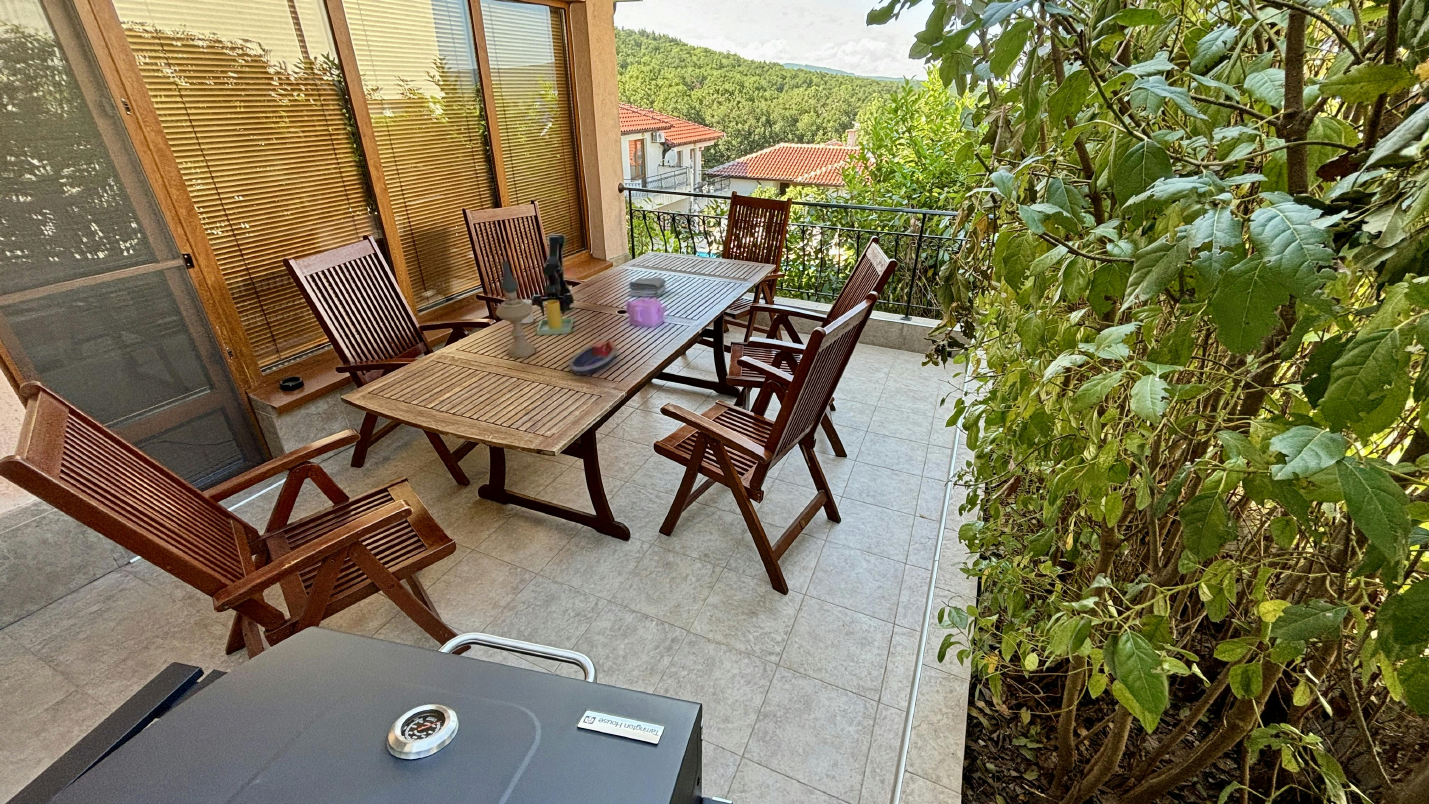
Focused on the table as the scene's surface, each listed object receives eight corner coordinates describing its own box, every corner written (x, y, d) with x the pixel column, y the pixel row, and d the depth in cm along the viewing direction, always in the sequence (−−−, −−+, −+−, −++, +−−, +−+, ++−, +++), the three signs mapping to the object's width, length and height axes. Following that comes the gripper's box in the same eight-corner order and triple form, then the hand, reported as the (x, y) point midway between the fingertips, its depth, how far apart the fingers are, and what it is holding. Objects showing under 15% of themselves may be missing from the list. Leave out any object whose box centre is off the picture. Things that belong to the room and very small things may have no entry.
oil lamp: (496, 356, 258) (477, 265, 240) (518, 344, 271) (501, 256, 252) (526, 360, 254) (508, 267, 235) (546, 348, 266) (531, 258, 248)
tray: (542, 324, 295) (541, 319, 293) (573, 322, 296) (572, 317, 295) (537, 335, 281) (536, 330, 280) (569, 333, 282) (569, 328, 281)
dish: (559, 376, 239) (557, 364, 237) (598, 348, 264) (596, 337, 262) (593, 380, 234) (591, 369, 232) (629, 352, 260) (628, 341, 257)
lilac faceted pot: (625, 319, 297) (623, 295, 292) (657, 314, 303) (656, 291, 298) (635, 330, 283) (633, 305, 278) (669, 325, 289) (667, 300, 284)
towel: (659, 297, 329) (658, 283, 326) (627, 296, 333) (626, 282, 329) (666, 289, 342) (666, 276, 339) (636, 288, 346) (635, 275, 342)
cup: (561, 324, 292) (557, 298, 286) (564, 328, 287) (560, 302, 281) (547, 326, 290) (543, 300, 284) (550, 330, 284) (546, 304, 278)
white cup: (537, 318, 302) (534, 299, 298) (531, 324, 295) (528, 304, 291) (522, 318, 303) (518, 299, 298) (516, 323, 296) (512, 304, 291)
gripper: (529, 278, 280) (529, 308, 276) (569, 276, 282) (570, 306, 277) (535, 290, 291) (534, 319, 286) (573, 288, 292) (574, 317, 288)
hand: (553, 315), depth 284 cm, fingers open, 9 cm apart
